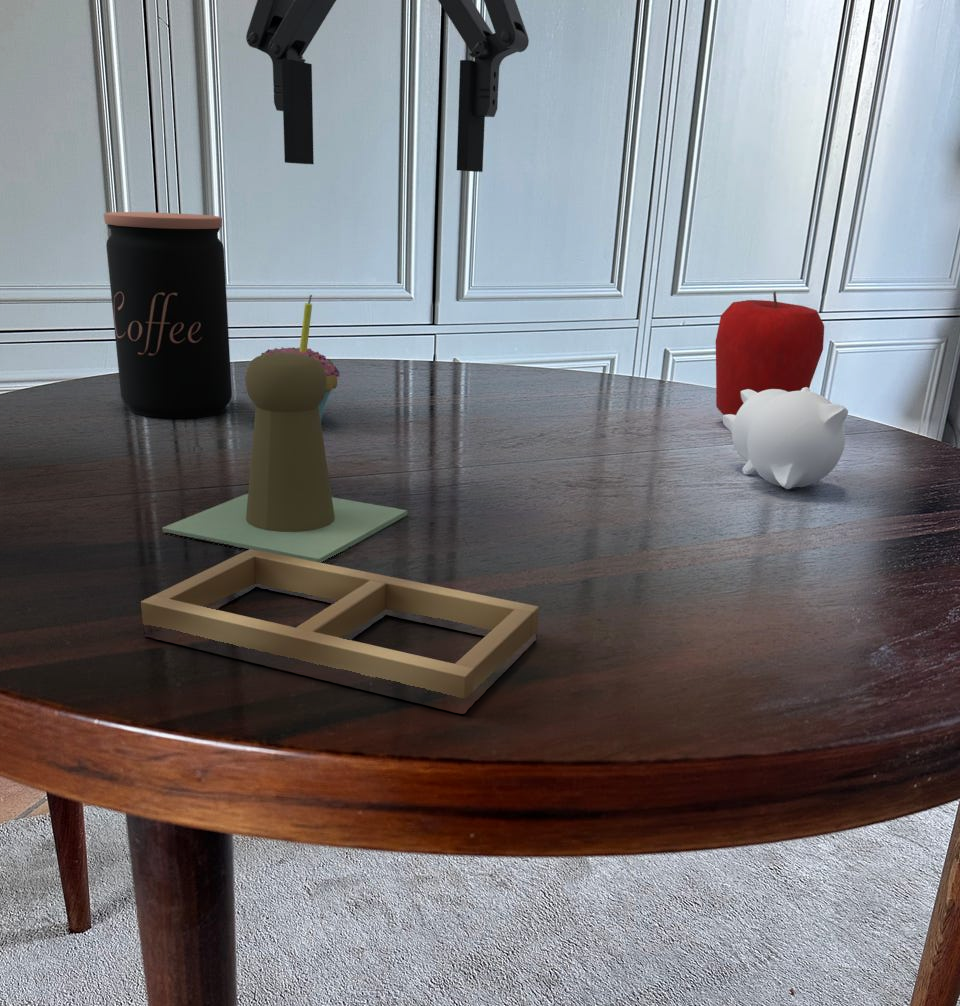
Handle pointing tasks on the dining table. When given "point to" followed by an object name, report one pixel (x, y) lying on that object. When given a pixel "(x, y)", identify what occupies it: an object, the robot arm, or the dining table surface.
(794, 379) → the apple
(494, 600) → the stand
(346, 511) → the mat
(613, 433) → the dining table surface
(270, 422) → the cork
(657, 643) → the dining table surface
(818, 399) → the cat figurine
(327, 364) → the cupcake
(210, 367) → the coffee jar
